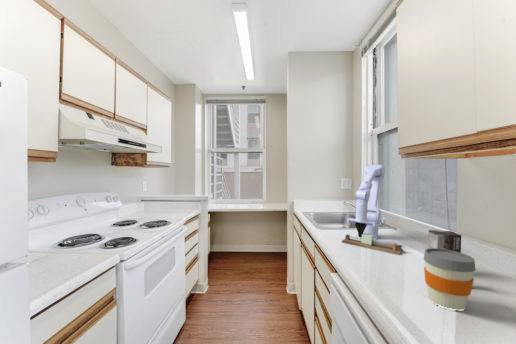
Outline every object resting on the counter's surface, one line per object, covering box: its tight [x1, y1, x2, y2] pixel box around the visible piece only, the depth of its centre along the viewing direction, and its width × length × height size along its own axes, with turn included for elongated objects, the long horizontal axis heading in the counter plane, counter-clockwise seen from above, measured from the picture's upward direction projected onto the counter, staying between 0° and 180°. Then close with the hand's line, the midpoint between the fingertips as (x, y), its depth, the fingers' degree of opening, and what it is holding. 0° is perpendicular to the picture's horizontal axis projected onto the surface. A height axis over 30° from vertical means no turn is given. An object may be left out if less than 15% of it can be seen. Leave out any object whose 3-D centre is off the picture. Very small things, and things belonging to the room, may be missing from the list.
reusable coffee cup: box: [423, 248, 476, 310], centre depth 76 cm, size 13×13×15 cm
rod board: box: [341, 234, 404, 256], centre depth 131 cm, size 9×28×4 cm, turn 51°
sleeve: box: [361, 232, 375, 245], centre depth 132 cm, size 4×5×4 cm
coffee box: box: [427, 229, 462, 253], centre depth 100 cm, size 9×6×16 cm
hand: (360, 237), depth 134 cm, fingers closed
